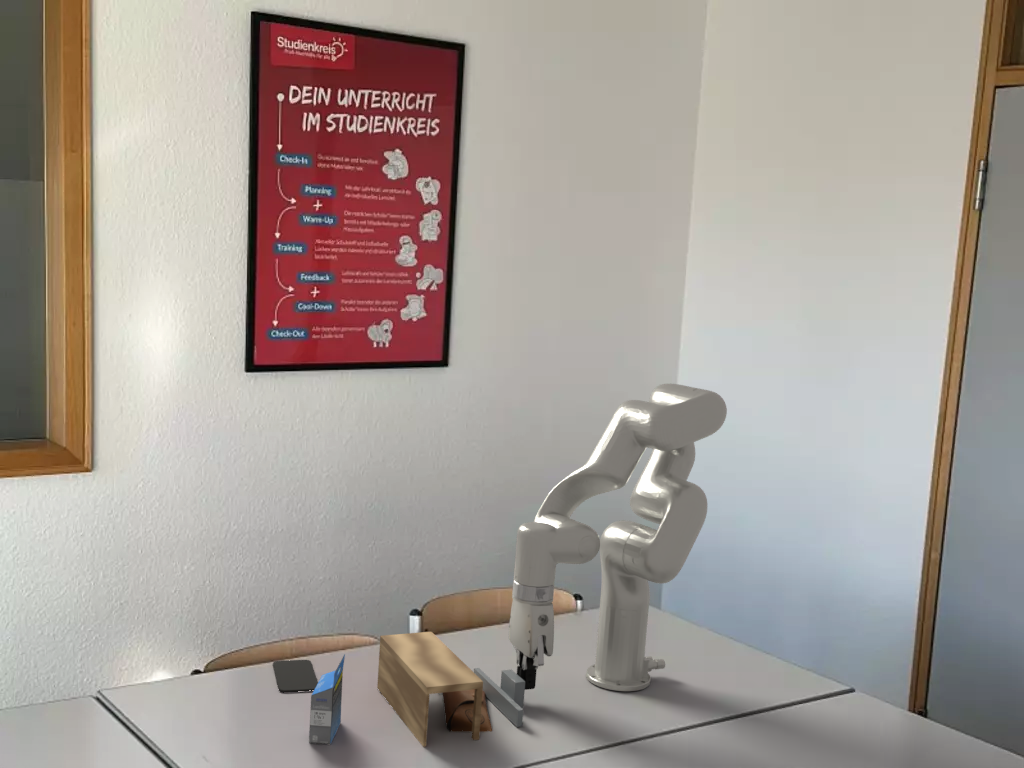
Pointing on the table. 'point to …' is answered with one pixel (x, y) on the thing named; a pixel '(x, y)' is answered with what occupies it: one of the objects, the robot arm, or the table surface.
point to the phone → (295, 675)
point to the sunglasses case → (464, 711)
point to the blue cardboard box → (326, 707)
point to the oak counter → (423, 678)
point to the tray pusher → (505, 694)
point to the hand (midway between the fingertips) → (525, 687)
